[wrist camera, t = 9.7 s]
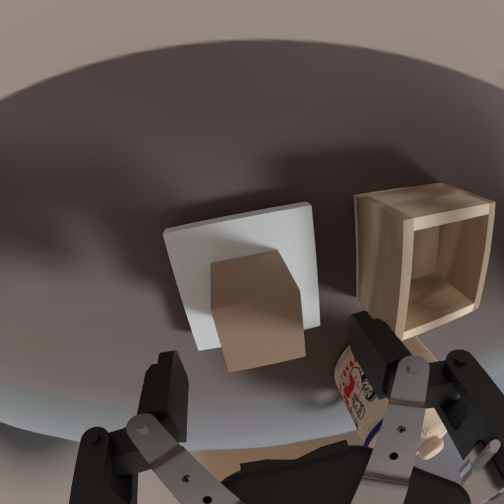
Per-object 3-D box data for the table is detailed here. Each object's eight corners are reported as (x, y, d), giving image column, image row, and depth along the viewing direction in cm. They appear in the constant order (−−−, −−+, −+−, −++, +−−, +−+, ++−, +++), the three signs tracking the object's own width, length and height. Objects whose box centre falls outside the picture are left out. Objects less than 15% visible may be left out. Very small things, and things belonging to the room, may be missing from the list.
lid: (301, 198, 19) (346, 232, 12) (312, 310, 22) (345, 373, 16) (167, 224, 18) (145, 272, 12) (199, 333, 22) (197, 405, 15)
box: (440, 182, 19) (495, 202, 14) (434, 273, 22) (478, 308, 17) (353, 194, 19) (403, 219, 13) (356, 297, 22) (393, 343, 17)
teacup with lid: (339, 326, 23) (406, 440, 12) (425, 312, 24) (501, 393, 13) (319, 416, 27) (353, 508, 17) (392, 398, 28) (437, 474, 18)
